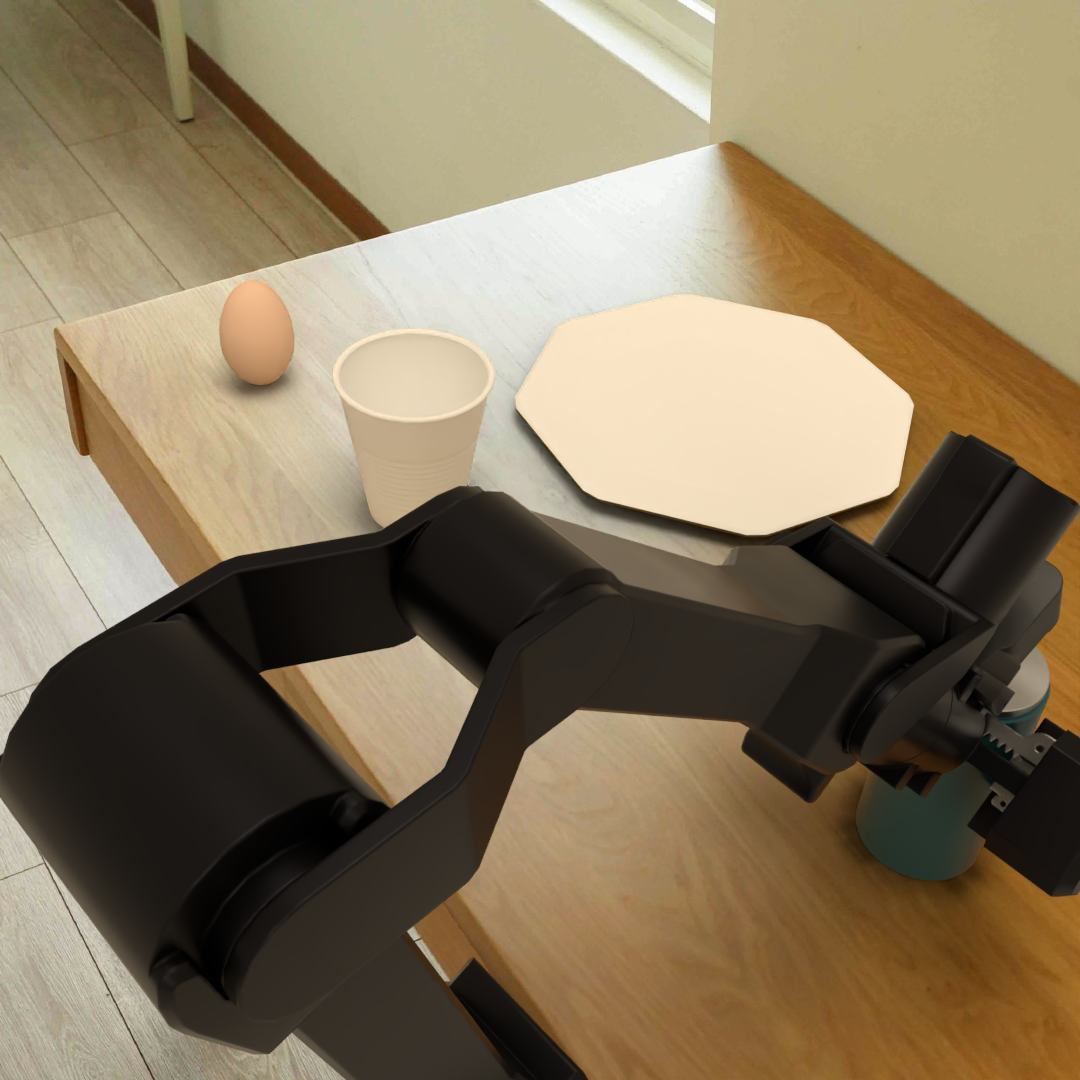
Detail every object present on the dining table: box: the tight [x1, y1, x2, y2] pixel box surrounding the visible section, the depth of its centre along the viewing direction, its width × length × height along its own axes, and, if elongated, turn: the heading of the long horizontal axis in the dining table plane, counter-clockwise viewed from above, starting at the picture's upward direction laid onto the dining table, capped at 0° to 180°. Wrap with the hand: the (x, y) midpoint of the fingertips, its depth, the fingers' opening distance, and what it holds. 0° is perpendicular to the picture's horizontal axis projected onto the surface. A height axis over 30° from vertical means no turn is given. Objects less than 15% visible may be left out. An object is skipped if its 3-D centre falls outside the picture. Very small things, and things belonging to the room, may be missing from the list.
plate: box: [514, 293, 915, 538], centre depth 98 cm, size 28×28×2 cm
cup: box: [331, 328, 496, 529], centre depth 86 cm, size 10×10×11 cm
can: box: [855, 646, 1051, 882], centre depth 68 cm, size 7×7×13 cm
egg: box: [218, 279, 295, 386], centre depth 97 cm, size 5×5×8 cm
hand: (964, 735), depth 68 cm, fingers closed on can, 6 cm apart
